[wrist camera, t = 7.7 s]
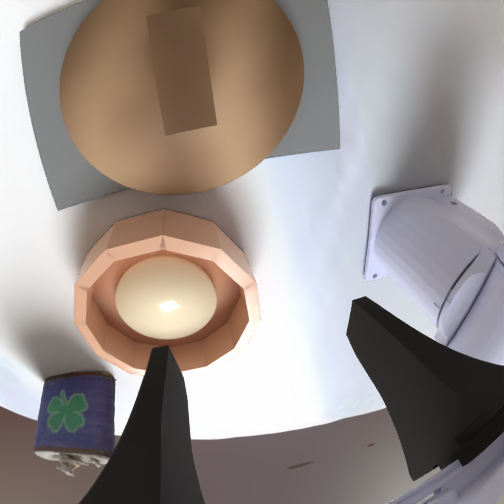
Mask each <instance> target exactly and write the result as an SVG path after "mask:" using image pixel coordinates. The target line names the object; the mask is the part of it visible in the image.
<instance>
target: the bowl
mask: <svg viewBox="0 0 504 504" xmlns="http://www.w3.org/2000/svg"><path fill="white" fill-rule="evenodd" d="M260 322H261V312H260V305H259V298H258V291H257V283H256V281H255V278H254V276H253V274H252V271H251V269H250V266H249V264H248V262H247V259H246V257H245V254H244V252H243V251H242V250H241V249H240V248H239V247H238V246H237V245H236V244H235V243H234V242H233V241H232V240H231V239H230V238H229V237H228V236H227V235H226V234H225V233H224V232H223V231H222V230H221V229H220V228H219V227H218V226H217V225H216V224H215V223H214V222H213V221H209V220H206V219H202V218H198V217H194V216H190V215H187V214H183V213H179V212H175V211H171V210H168V209H162V210H158V211H154V212H150V213H146V214H142V215H138V216H134V217H130V218H127V219H123V220H119V221H116V222H115V223H114V224H113V225H112V227H111V228H110V229H109V230H108V231H107V232H106V233H105V234H104V235H103V236H102V237H101V238H100V240H99V241H98V242H97V243H96V244H95V245H94V246H93V247H92V249H91V250H90V251H89V252H88V254H87V256H86V258H85V261H84V263H83V265H82V268H81V270H80V273H79V275H78V278H77V280H76V283H75V295H74V323H75V325H76V326H77V328H78V330H79V331H80V333H81V334H82V336H83V337H84V338H85V340H86V341H87V343H88V344H89V346H90V347H91V348H92V350H93V351H94V353H95V354H96V355H98V356H99V357H101V358H103V359H104V360H106V361H108V362H110V363H112V364H113V365H115V366H117V367H119V368H121V369H122V370H124V371H126V372H128V373H130V374H134V375H141V376H144V374H145V371H146V367H147V364H148V360H149V357H150V353H151V350H152V348H154V347H160V346H166V345H169V347H170V349H171V351H172V353H173V356H174V358H175V360H176V362H177V364H178V366H179V368H180V370H181V372H182V374H183V377H188V376H193V375H198V374H203V373H208V372H212V371H213V370H215V369H217V368H218V367H220V366H221V365H223V364H224V363H226V362H228V361H229V360H231V359H232V358H234V357H235V356H237V355H239V354H240V353H242V352H243V351H244V350H245V348H246V346H247V345H248V343H249V341H250V339H251V338H252V336H253V334H254V332H255V331H256V329H257V327H258V325H259V324H260Z"/></svg>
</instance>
